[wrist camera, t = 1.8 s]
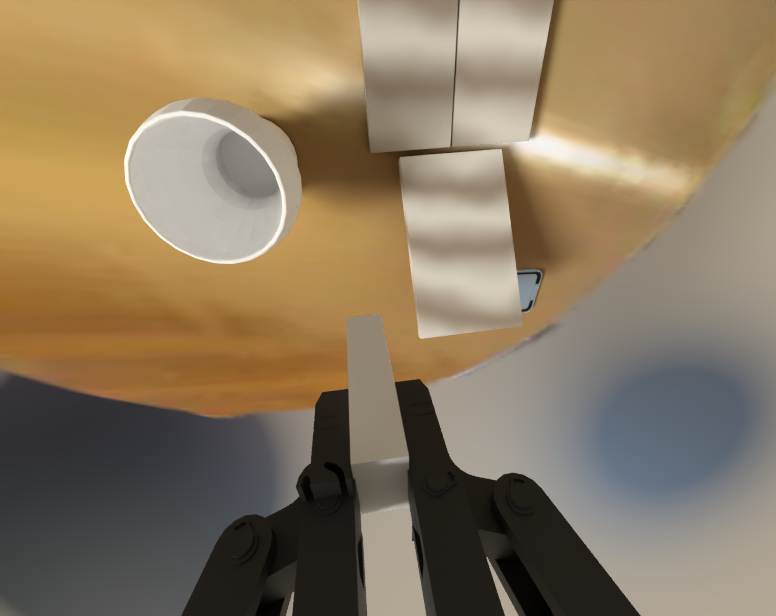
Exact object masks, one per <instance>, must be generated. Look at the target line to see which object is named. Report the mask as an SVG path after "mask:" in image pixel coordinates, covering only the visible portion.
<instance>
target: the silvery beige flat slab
mask: <svg viewBox="0 0 776 616" xmlns="http://www.w3.org/2000/svg"><path fill="white" fill-rule="evenodd" d="M398 167H399V175H400V183H401V192H402V200H403V208H404V217H405V225H406V233H407V242H408V250H409V258H410V267H411V275H412V283H413V292H414V300H415V308H416V317H417V325H418V334H419V338H421V339H423V338H431V337H438V336H446V335H454V334H462V333H470V332H478V331H486V330H493V329H501V328H509V327H517V326H523V319H522V311H521V302H520V294H519V286H518V278H517V270H516V262H515V254H514V245H513V237H512V229H511V221H510V213H509V205H508V197H507V188H506V180H505V172H504V164H503V156H502V149H494V150H481V151H469V152H456V153H444V154H432V155H419V156H407V157H400V159H399V160H398Z"/></svg>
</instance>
